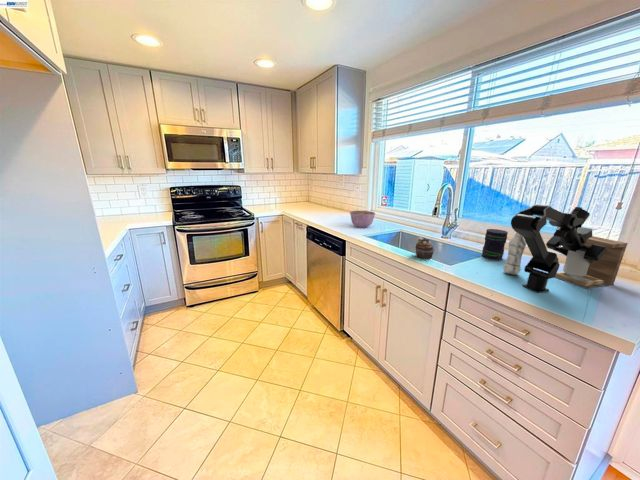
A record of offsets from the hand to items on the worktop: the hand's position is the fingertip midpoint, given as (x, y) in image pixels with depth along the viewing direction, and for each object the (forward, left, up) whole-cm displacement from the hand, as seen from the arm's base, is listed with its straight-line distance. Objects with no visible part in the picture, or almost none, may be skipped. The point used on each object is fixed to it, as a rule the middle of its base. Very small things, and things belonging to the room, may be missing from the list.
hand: (580, 259), depth 115 cm
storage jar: (-9, +34, -10) cm, 36 cm away
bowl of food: (-48, +120, -10) cm, 129 cm away
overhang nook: (+4, 0, -10) cm, 11 cm away
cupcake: (-46, +43, -10) cm, 63 cm away
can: (-1, 0, -7) cm, 7 cm away
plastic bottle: (-21, +13, -10) cm, 26 cm away
